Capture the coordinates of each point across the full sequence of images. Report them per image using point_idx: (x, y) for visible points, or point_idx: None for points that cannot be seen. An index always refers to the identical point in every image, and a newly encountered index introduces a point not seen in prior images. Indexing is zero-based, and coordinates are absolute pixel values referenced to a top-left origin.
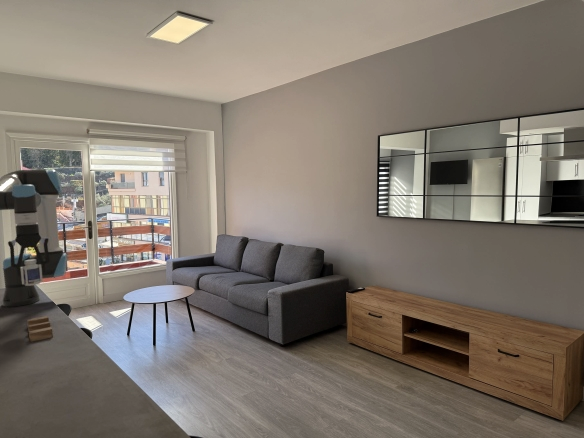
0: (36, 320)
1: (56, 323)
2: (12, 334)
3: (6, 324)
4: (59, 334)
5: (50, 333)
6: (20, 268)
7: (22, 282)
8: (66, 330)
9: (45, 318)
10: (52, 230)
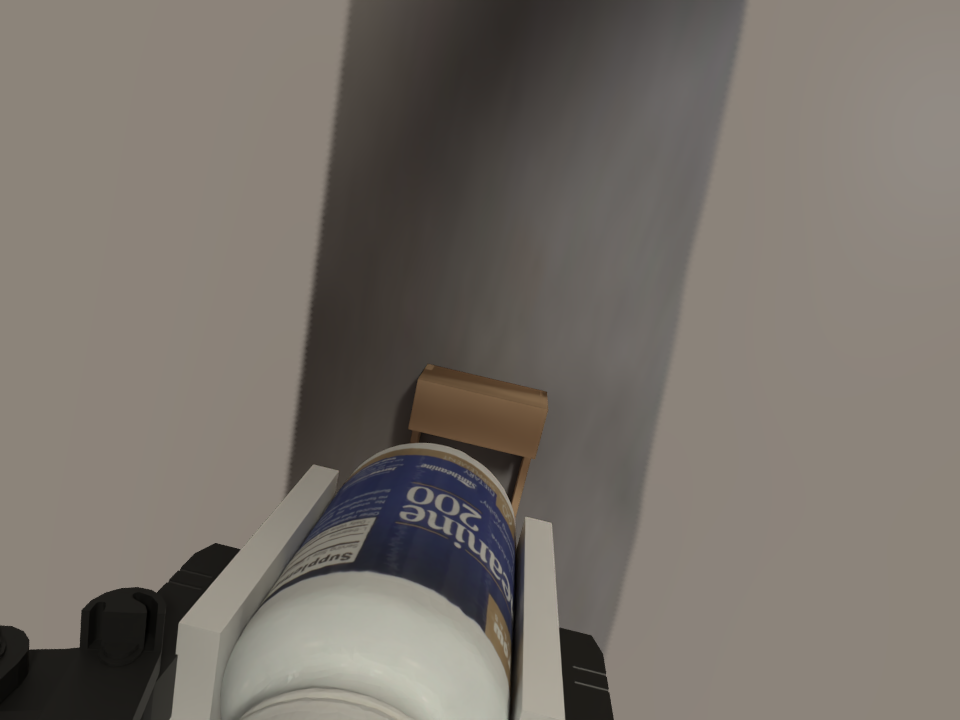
0: (461, 440)
1: (578, 444)
2: (328, 434)
3: (336, 146)
4: None
5: None
6: (177, 701)
7: None
8: None
9: (516, 454)
10: None
